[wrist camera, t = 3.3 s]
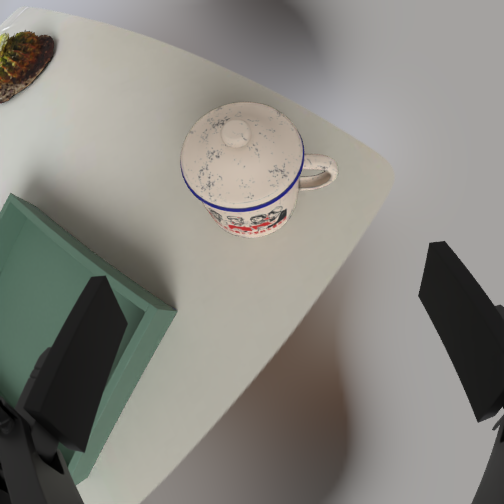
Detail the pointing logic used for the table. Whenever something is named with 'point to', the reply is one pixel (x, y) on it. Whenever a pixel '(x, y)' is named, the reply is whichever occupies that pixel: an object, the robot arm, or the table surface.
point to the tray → (66, 315)
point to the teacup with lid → (250, 167)
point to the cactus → (22, 61)
